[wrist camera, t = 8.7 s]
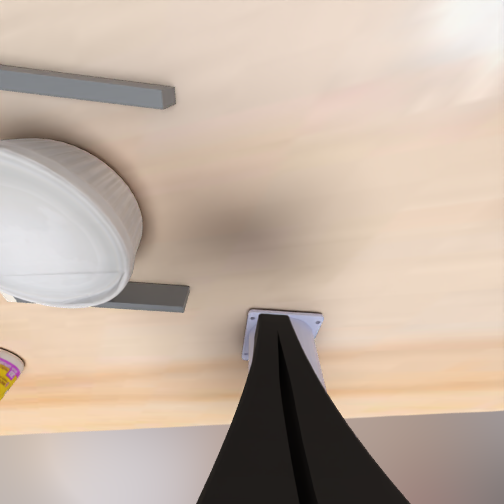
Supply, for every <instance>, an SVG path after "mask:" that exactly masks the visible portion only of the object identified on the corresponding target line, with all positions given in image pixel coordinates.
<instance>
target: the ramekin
mask: <svg viewBox="0 0 504 504" xmlns="http://www.w3.org/2000/svg"><path fill="white" fill-rule="evenodd" d="M142 222H143V220H142V216H141V211H140V209H139V206H138V203H137V201H136V199H135V197H134V195H133V193H132V192H131V191H130V189H129V187H128V186H127V185H126V184H125V183H124V181H123V180H122V178H121V177H120V176H119V175H117V174H116V172H115V171H114V170H113V169H111V168H110V167H109V166H108V165H106V164H105V163H104V162H102V161H101V160H99V159H98V158H97V157H95V156H93V155H91V154H90V153H88V152H87V151H85V150H82V149H79V148H78V147H76V146H73V145H69V144H67V143H64V142H61V141H54V140H51V139H40V138H23V139H7V140H0V291H1V292H3V293H6V294H8V295H11V296H14V297H16V298H19V299H22V300H26V301H29V302H33V303H37V304H42V305H46V306H52V307H61V308H84V307H91V306H96V305H100V304H103V303H105V302H108V301H110V300H111V299H113V298H114V297H116V296H117V295H118V294H119V293H120V292H121V291H122V290H123V289H124V288H125V286H126V285H127V283H128V281H129V279H130V277H131V275H132V272H133V268H134V259H135V256H136V253H137V250H138V247H139V244H140V241H141V237H142V230H143V224H142Z"/></svg>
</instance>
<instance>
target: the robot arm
mask: <svg viewBox="0 0 504 504" xmlns="http://www.w3.org/2000/svg"><path fill="white" fill-rule="evenodd" d="M323 320H324V317H323V315H322V314H315V313H300V312H285V311H269V310H254V309H253V310H250V311H249V312H248V318H247V324H246V331H245V337H244V344H243V350H242V359H243V360H249V374H248V377H247V381H246V384H245V387H244V390H243V393H242V396H241V399H240V401H239V404H238V407H237V410H236V412H235V415H234V418H233V420H232V423H231V425H230V428H229V430H228V433H227V435H226V438H225V440H224V443H223V445H222V447H221V450H220V452H219V455H218V457H217V459H216V461H215V464H214V466H213V468H212V471H211V473H210V475H209V477H208V479H207V482H206V484H205V486H204V488H203V490H202V492H201V495H200V497H199V499H198V501H197V503H196V504H410V503H409V501H408V500H407V499H406V498H405V497H404V496H403V494H402V493H401V492H400V491H399V490H398V489H397V487H396V486H395V485H394V484H393V483H392V481H391V480H390V479H389V478H388V477H387V476H386V474H385V473H384V472H383V470H382V469H381V468H380V467H379V465H378V464H377V463H376V462H375V460H374V459H373V458H372V457H371V455H370V454H369V453H368V452H367V450H366V449H365V447H364V446H363V445H362V443H361V442H360V440H359V439H358V438H357V436H356V435H355V433H354V432H353V431H352V430H351V428H350V427H349V426H348V424H347V423H346V421H345V420H344V418H343V417H342V415H341V414H340V412H339V411H338V409H337V408H336V406H335V405H334V403H333V402H332V400H331V399H330V397H329V395H328V394H327V391H326V387H325V383H324V378H323V374H322V370H321V366H320V361H319V357H318V353H317V349H316V345H315V340H314V339H315V337H316V335H317V333H318V331H319V329H320V326H321V324H322V322H323Z"/></svg>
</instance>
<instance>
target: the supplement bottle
mask: <svg viewBox="0 0 504 504" xmlns="http://www.w3.org/2000/svg"><path fill="white" fill-rule="evenodd" d="M23 369H24V364H23V362H22V360H21V359H20V358H18V357H17V356H16V355H14V354H12V353H10V352H8V351H5V350H3V349H0V400H1V399H2V398H3V396H4V395H5V394H6V392H7V391H8V390H9V389H10V387H11V386H12V385H13V383H14V382H15V381H16V379H17V378H18V377H19V375H20V374H21V373H22V371H23Z"/></svg>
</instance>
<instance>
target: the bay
mask: <svg viewBox="0 0 504 504" xmlns="http://www.w3.org/2000/svg"><path fill="white" fill-rule="evenodd" d="M0 90H6V91H14V92H22V93H31V94H39V95H47V96H55V97H64V98H72V99H80V100H88V101H97V102H105V103H113V104H121V105H130V106H138V107H146V108H154V109H166V108H168V107H170V106H172V105H174V104H176V100H175V87H170V86H162V85H154V84H146V83H139V82H131V81H123V80H115V79H107V78H99V77H92V76H84V75H76V74H68V73H60V72H53V71H45V70H37V69H29V68H21V67H14V66H6V65H0ZM0 293H1V294H2V295H3V296H4V298H5V299H6V300H7V302H23V303H33V302H29V301H26V300H22V299H19V298H16V297H14V296H11V295H8V294H6V293H3V292H1V291H0ZM188 295H189V286H179V285H165V284H151V283H137V282H128V283H127V285H126V286H125V288H124V289H123V290H122V291H121V292H120V293H119V294H118V295H117V296H116V297H114V298H113V299H111V300H110V301H108V302H105V303H103V304H100V305H96V306H91V307H102V308H118V309H134V310H150V311H165V312H181V313H184V310H185V306H186V303H187V299H188Z"/></svg>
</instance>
